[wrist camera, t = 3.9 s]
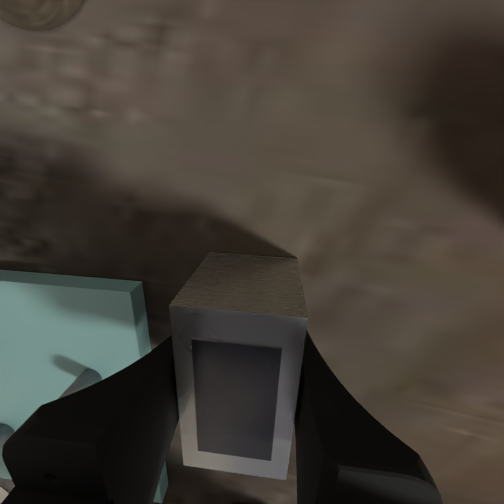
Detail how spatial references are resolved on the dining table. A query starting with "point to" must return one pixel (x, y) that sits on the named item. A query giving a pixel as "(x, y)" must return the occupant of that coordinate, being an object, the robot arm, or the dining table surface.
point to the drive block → (239, 362)
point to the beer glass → (38, 13)
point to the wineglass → (2, 495)
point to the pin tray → (64, 341)
